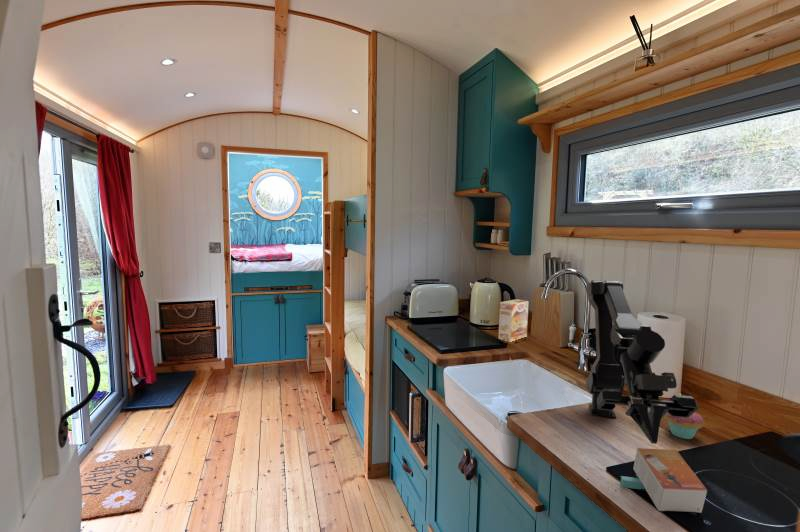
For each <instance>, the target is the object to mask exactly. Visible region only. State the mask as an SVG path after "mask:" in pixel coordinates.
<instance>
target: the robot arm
mask: <svg viewBox="0 0 800 532" xmlns="http://www.w3.org/2000/svg"><path fill="white" fill-rule="evenodd" d="M585 290H586V291H585V292H586V295H587V297H588V299H587V300H588V303H589V304H590V305H591V307H592V308H593V310H594V320H595V321H594V322H595V347H596V348H595V349H596V359H595V361H594V362H593V364H592V365H591V367H590V373H589V374H588V377H587V378H586V380H585V386H586V389H587V391H588V392H589V394H591V396H592V397H591V404H588V407H589V408H588V409H589V411H590V414H591V415H592V416H598V417H603V418H604V417H605V418H606V417H607V418H611V419H617V414H616V413H615V410H614V409H615V408H616V405H617V406H618V405H619V406H625V408H626V411H625V415H626V416H629V417H630V418H632V420H633V421H634V422H635V423H636V424H637V425H638V427H639V428H640V429H641V431H642V432H643V434H644V435H645V437H646V439H648V442H650V444H651V445H652V444H654V445H655V444H657V443H658V440H659V439H658V438H659V433H660V426H661V425H660V424H661V420H662V418H663V417H664V415H665V414H666V413H667V412H668V413H669V414H670V415H671V416H673V417H683V418H687V417H690V416H691V415H692V414H693V413H694V412H697V411H699V409H700V407H699V404H698V401H697V400H696V398H694V397H693V396H691V395H682V394H681V395H678V394H673V395H672V396H671V398H670V399H660V398H659V397H662V396H664V392H666V393H668V392H669V389H676V388H677V386H678V384H677V379H676V375H675V373H674V372H668V371H667V372H666V371H664V372H661V375H659V374H656V372H653V371H652V367H651V364H653V362H655V360H656V359H657V358H658V357H659V355H660V354H661V352H662V351H663V350H664V348H665V347H666V343H665V342H666V341H665V339H664V338H663V336H661V335H660V333H657V332H656V331H654V330H652V326H650V325H643V323H642V321H640V320H639V319H637V318H636V317H634V315H633V313H632V311H631V308H630V305H629V303H628V300H627V298H626V295H625V292H624V284H623V282H622V281H620V280H619V281H618V280H601V279H600V280H599V279H597V280H595V279H591V280H590V282H589V283H587V284H586V287H585ZM615 348H618V349H624V350H623V351H622V353H621V354H620V360H619V362H620V364H619V363H618V362H617V361H616V359H615ZM623 374H624V375H623ZM625 386H626V389H627V394H628V395H627V396H625V395H623V393H624V388H625Z"/></svg>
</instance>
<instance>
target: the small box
mask: <svg viewBox="0 0 800 532" xmlns="http://www.w3.org/2000/svg"><path fill="white" fill-rule="evenodd" d="M633 471H634V473H635V475H636V476H637V478H639V479H640V481H641V482H642V484H643V486H644V488H645V489H646V490H645V491H646V492H647V494H648V495H649V497H650V499H651V501H652V502H653V504H654V506H655V507H656V509H657V510H658V511H659V512H667V511H668V512H683V513H684V512H686V513H687V512H688V513H700V514H702V512H703V509H704V505H705V500H706V497H707V494H708V489H707V488H706V487H705V485H704V484H703V483H702V482H701V480H700V479H699V477H698V476H697V475H696V473H695V472H694V471H693V470H692V469H691V467H690V465H688V464H687V462H686V461H685V459H684V458H683V456H682V455H681V454H680V453H679V452H678V450H677V449H665V448H663V449H660V448H642V447H641V448H640V447H637V448H636V453H635V458H634V464H633Z"/></svg>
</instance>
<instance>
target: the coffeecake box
mask: <svg viewBox="0 0 800 532" xmlns="http://www.w3.org/2000/svg"><path fill="white" fill-rule="evenodd" d="M529 302H530V301H528V300H524V299H518V298H516V299H511V300H505V301H500V302H499V319H498V339H501V340H505V341H509V342H512V341H515V340H518V339H521V338H524V337H527V338H528V323H529V322H528V319H529V304H530V303H529ZM498 339H497V340H498Z"/></svg>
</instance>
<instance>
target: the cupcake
mask: <svg viewBox="0 0 800 532" xmlns="http://www.w3.org/2000/svg"><path fill="white" fill-rule="evenodd" d="M677 395H682V393H681V392H680V390H678V394H677ZM663 417H664V419H665V420H666V421H667V422H668V425H669V428H670V432H671V435H673V436H675V437H677V438H680V439H684V440H691V439H694V437H695V435H696V432H697V431H699V429H702V428H703V427H704V419H703V418H702V417H703V416H701V415H700V414H699V413H697V411H695V412H694V413H693V414H692V415H691V416H690V417H687V418H683V417H673V416H671V415H670V414H669V413H668V412H667V413H666V414H665V415H664V416H663Z"/></svg>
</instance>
